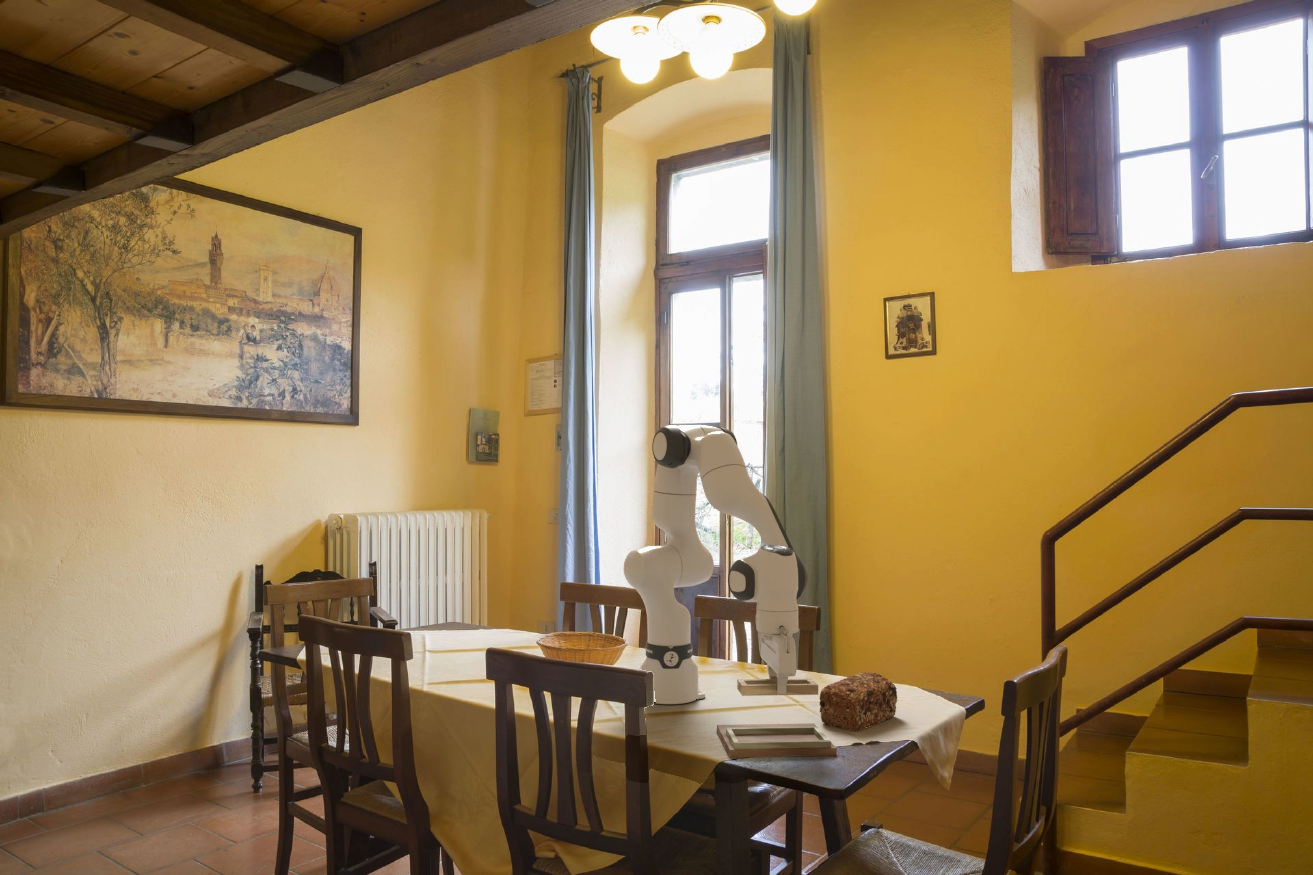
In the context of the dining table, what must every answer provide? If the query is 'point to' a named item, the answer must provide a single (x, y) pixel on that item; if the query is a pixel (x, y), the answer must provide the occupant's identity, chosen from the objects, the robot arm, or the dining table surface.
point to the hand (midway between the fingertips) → (777, 688)
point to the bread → (858, 701)
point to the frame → (769, 687)
